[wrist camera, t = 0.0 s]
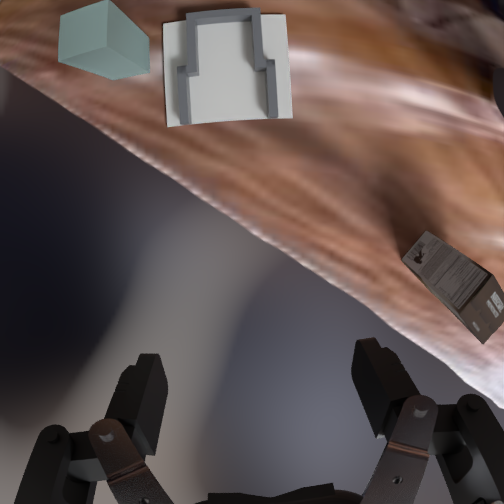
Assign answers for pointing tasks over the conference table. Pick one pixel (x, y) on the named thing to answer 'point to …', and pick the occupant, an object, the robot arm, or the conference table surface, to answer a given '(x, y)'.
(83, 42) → the teal post
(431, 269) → the coffee box
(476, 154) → the conference table surface
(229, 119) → the keyhole guide
